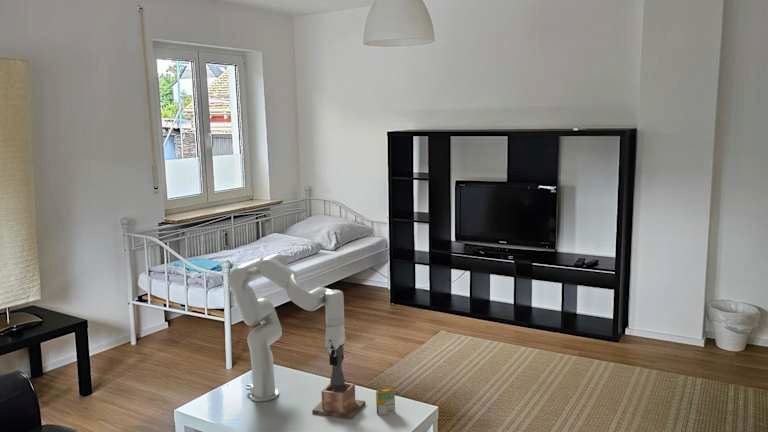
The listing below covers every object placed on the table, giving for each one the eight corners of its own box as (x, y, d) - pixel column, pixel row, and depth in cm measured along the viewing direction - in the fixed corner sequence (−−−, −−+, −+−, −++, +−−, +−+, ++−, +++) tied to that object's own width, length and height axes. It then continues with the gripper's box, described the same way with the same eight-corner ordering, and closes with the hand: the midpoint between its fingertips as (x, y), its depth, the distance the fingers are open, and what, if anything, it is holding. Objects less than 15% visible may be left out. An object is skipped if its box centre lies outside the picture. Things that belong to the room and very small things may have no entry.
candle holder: (343, 406, 261) (341, 348, 257) (329, 405, 262) (326, 348, 258) (347, 399, 267) (345, 343, 263) (333, 398, 268) (331, 342, 264)
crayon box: (393, 410, 263) (392, 383, 261) (395, 413, 260) (394, 386, 258) (376, 412, 261) (375, 386, 259) (378, 416, 258) (377, 389, 256)
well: (312, 413, 262) (311, 391, 260) (327, 398, 275) (326, 378, 273) (352, 419, 255) (351, 397, 254) (365, 404, 268) (364, 383, 267)
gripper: (335, 313, 268) (337, 353, 271) (317, 326, 252) (319, 369, 255) (352, 314, 265) (353, 355, 268) (334, 328, 249) (336, 371, 252)
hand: (336, 361), depth 262 cm, fingers closed on candle holder, 5 cm apart
